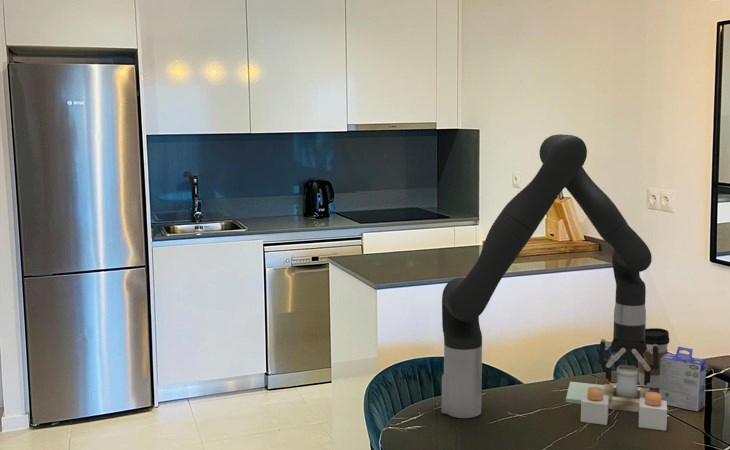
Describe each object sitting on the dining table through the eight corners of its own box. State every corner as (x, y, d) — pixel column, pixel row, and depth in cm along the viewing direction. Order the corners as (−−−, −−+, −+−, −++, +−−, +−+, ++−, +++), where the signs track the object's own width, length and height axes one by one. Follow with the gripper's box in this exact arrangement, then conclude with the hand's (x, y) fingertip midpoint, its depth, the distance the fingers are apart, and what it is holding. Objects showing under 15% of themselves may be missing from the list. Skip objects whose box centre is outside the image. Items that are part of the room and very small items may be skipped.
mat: (565, 402, 188) (565, 398, 188) (570, 385, 200) (570, 381, 200) (602, 406, 185) (602, 402, 185) (604, 388, 197) (605, 385, 197)
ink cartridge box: (704, 405, 185) (707, 350, 183) (699, 412, 181) (702, 355, 179) (663, 397, 191) (666, 343, 189) (657, 404, 187) (660, 348, 185)
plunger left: (586, 415, 177) (587, 391, 176) (587, 409, 180) (588, 386, 179) (602, 417, 175) (603, 393, 174) (602, 411, 179) (603, 388, 178)
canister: (615, 405, 186) (616, 367, 185) (615, 398, 191) (617, 361, 189) (637, 407, 184) (638, 370, 183) (637, 400, 189) (638, 363, 188)
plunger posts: (580, 421, 176) (581, 401, 175) (582, 410, 183) (583, 391, 182) (666, 432, 169) (667, 411, 169) (665, 420, 176) (666, 400, 175)
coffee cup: (672, 389, 196) (675, 335, 194) (640, 390, 196) (642, 335, 194) (660, 379, 204) (662, 326, 202) (629, 379, 204) (631, 326, 202)
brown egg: (644, 420, 173) (645, 396, 172) (644, 415, 176) (645, 391, 176) (660, 422, 172) (662, 398, 171) (660, 416, 175) (661, 392, 174)
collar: (602, 408, 184) (602, 398, 184) (604, 392, 194) (604, 383, 194) (649, 413, 180) (650, 403, 180) (649, 397, 191) (649, 388, 190)
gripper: (599, 322, 183) (597, 384, 186) (660, 326, 179) (658, 390, 181) (600, 314, 190) (598, 374, 193) (659, 318, 185) (657, 380, 188)
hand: (627, 382), depth 187 cm, fingers open, 8 cm apart
